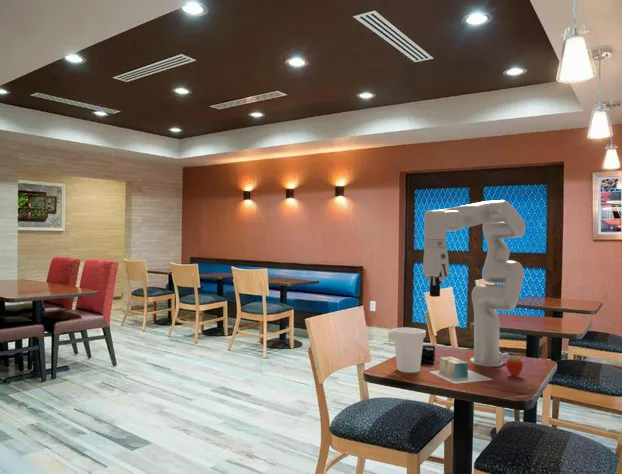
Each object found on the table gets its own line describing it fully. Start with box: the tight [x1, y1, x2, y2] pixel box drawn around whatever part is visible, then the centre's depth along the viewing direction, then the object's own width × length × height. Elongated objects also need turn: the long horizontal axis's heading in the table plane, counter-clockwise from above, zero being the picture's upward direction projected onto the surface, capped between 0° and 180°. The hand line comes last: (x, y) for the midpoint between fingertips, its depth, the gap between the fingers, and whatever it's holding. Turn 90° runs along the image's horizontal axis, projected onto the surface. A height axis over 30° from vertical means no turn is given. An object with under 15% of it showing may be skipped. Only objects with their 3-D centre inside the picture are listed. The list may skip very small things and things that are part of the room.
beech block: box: [439, 356, 469, 378], centre depth 176 cm, size 5×5×10 cm
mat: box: [428, 369, 494, 385], centre depth 174 cm, size 16×16×1 cm
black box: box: [420, 345, 436, 366], centre depth 194 cm, size 10×7×7 cm
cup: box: [391, 327, 427, 374], centre depth 181 cm, size 12×12×15 cm
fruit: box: [506, 355, 524, 378], centre depth 174 cm, size 5×5×8 cm
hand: (434, 296), depth 172 cm, fingers closed
